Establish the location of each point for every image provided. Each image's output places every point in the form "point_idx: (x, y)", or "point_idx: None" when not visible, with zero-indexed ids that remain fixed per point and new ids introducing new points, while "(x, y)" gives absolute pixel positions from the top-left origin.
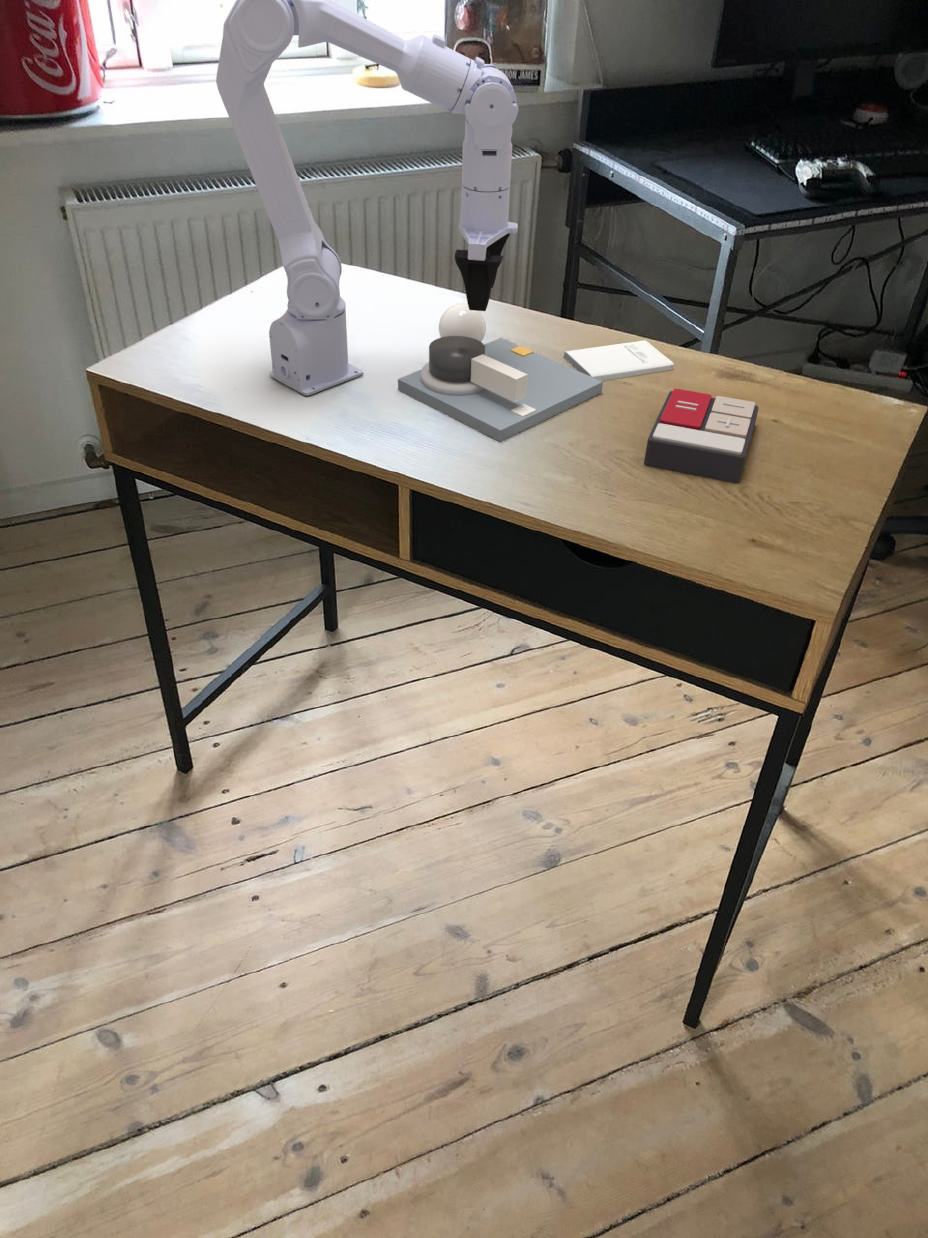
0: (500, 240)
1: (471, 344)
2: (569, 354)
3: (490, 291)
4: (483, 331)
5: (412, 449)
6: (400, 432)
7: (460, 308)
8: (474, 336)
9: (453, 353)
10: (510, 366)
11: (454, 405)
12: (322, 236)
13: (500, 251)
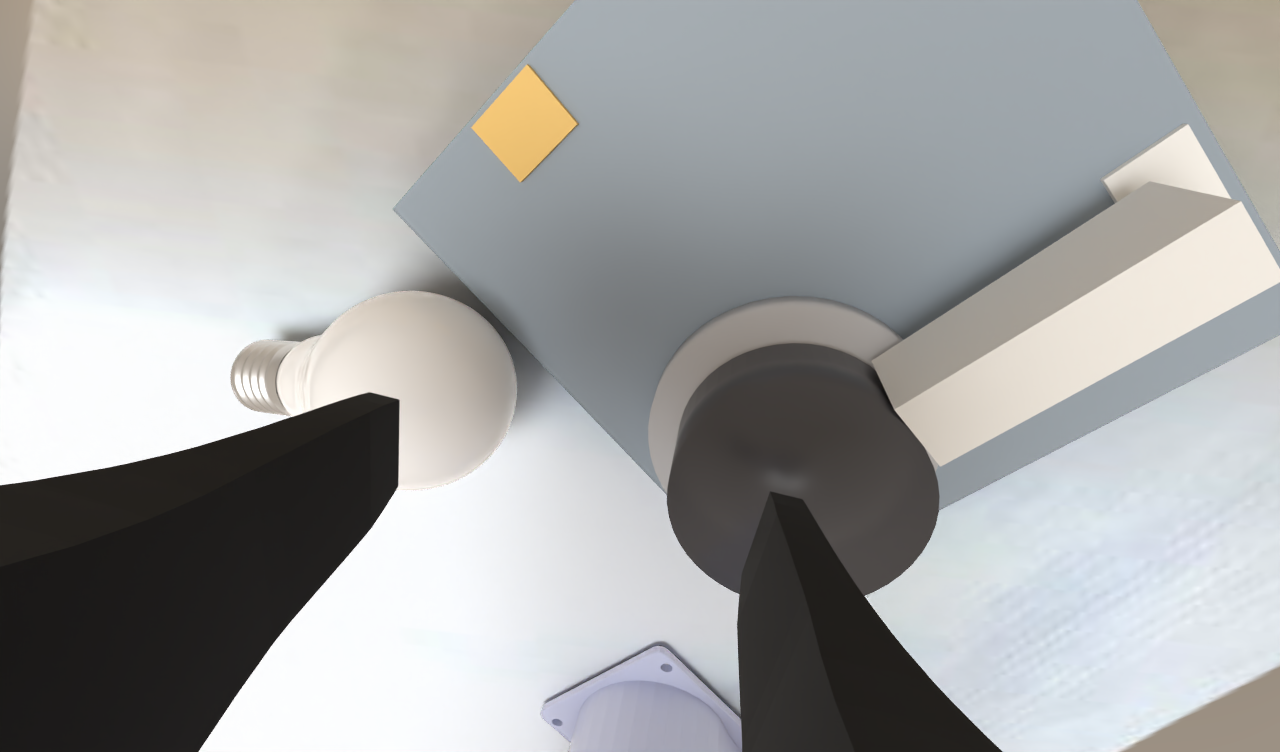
0: (56, 616)
1: (770, 444)
2: None
3: (824, 573)
4: (448, 312)
5: (1200, 580)
6: (1066, 597)
7: None
8: (496, 353)
9: (864, 529)
10: (681, 198)
11: (1015, 460)
12: None
13: (174, 518)
